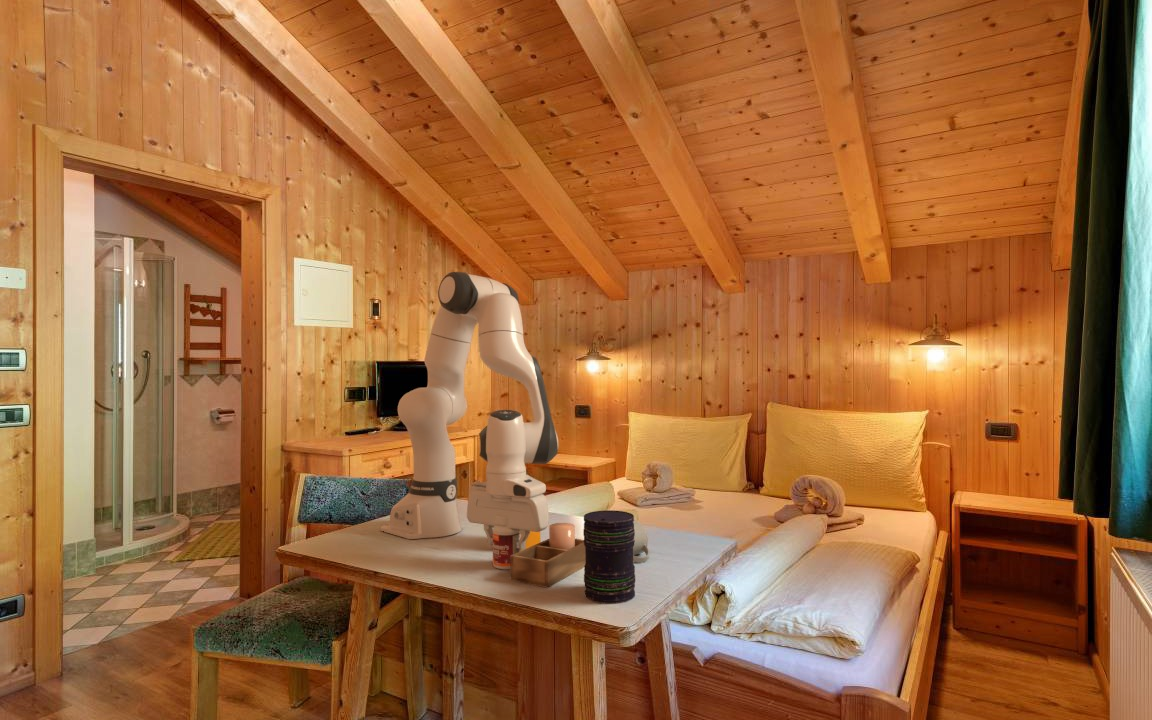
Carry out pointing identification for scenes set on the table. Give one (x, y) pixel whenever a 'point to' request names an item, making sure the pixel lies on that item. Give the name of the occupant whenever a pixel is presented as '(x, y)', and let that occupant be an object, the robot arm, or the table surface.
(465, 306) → the robot arm
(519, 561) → the caddy
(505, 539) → the pill bottle
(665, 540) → the table surface
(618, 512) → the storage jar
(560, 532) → the orange rounded cylinder
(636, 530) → the ceramic mug
